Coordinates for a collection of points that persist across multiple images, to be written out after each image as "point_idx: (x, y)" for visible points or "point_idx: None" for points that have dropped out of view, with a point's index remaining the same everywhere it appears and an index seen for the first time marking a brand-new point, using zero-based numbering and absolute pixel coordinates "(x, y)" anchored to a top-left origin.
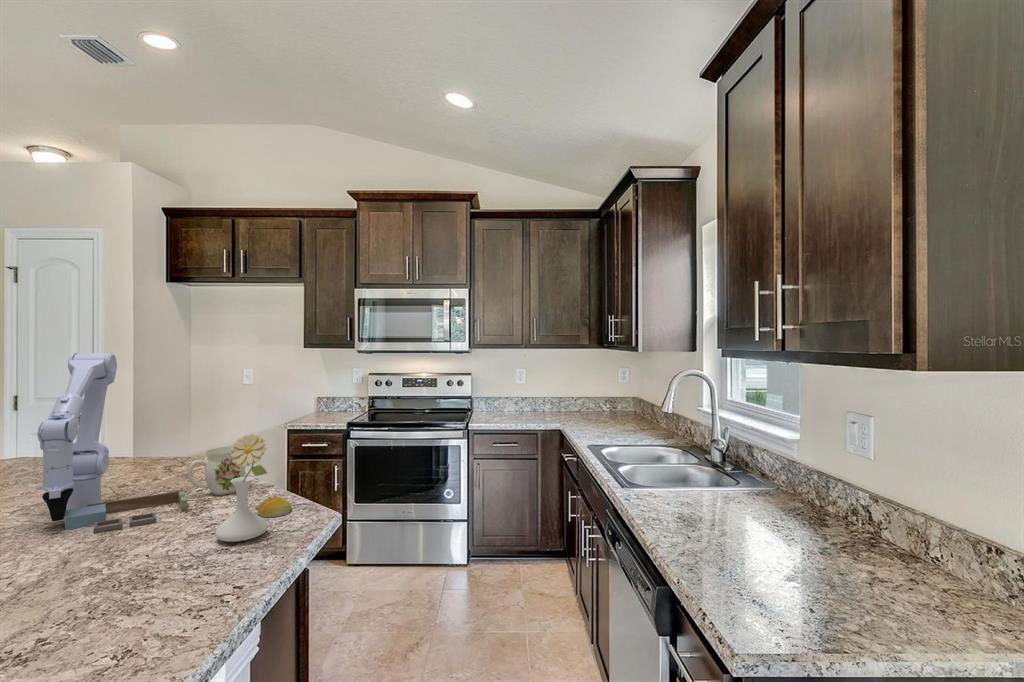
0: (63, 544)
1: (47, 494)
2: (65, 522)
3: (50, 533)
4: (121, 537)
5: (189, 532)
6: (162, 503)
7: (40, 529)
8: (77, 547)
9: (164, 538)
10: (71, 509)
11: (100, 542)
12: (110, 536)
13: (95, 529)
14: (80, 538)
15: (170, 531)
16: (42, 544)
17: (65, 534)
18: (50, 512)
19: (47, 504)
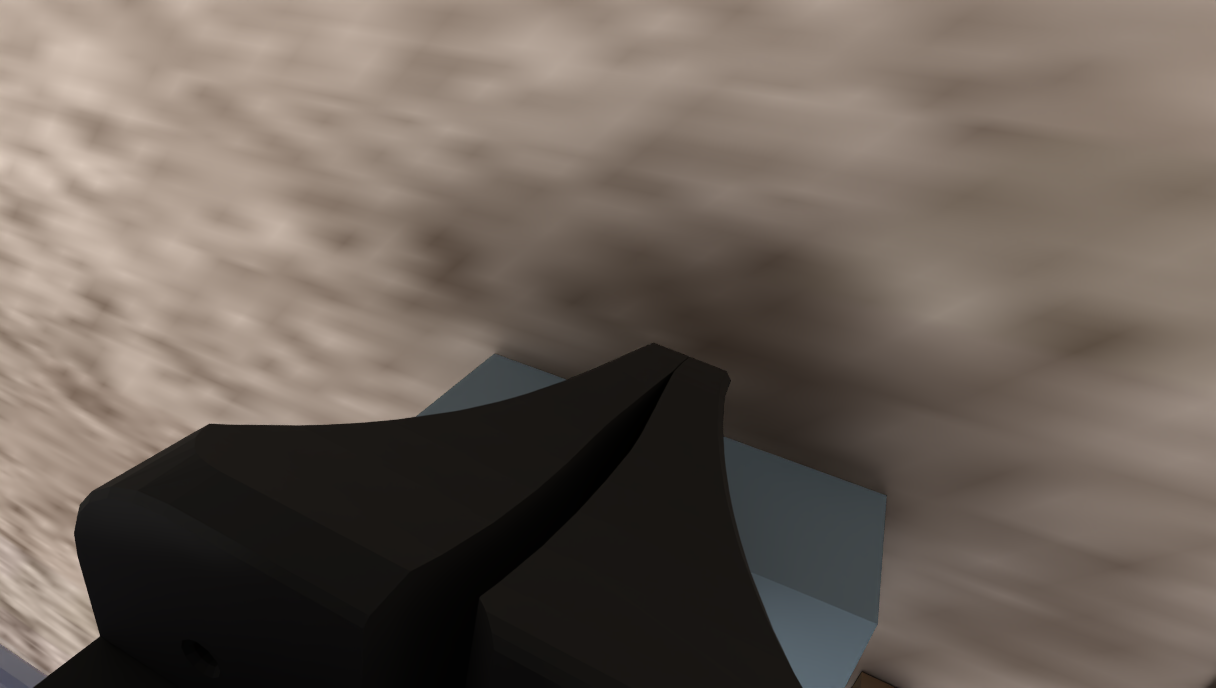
0: (101, 211)
1: (218, 635)
2: (441, 402)
3: (482, 228)
4: (97, 478)
5: (55, 639)
6: None
7: (778, 192)
8: (12, 255)
9: (14, 555)
10: (830, 663)
11: (55, 376)
12: (139, 459)
13: None
14: (183, 339)
15: (96, 624)
16: (167, 84)
17: (351, 309)
18: (559, 385)
19: (389, 423)
